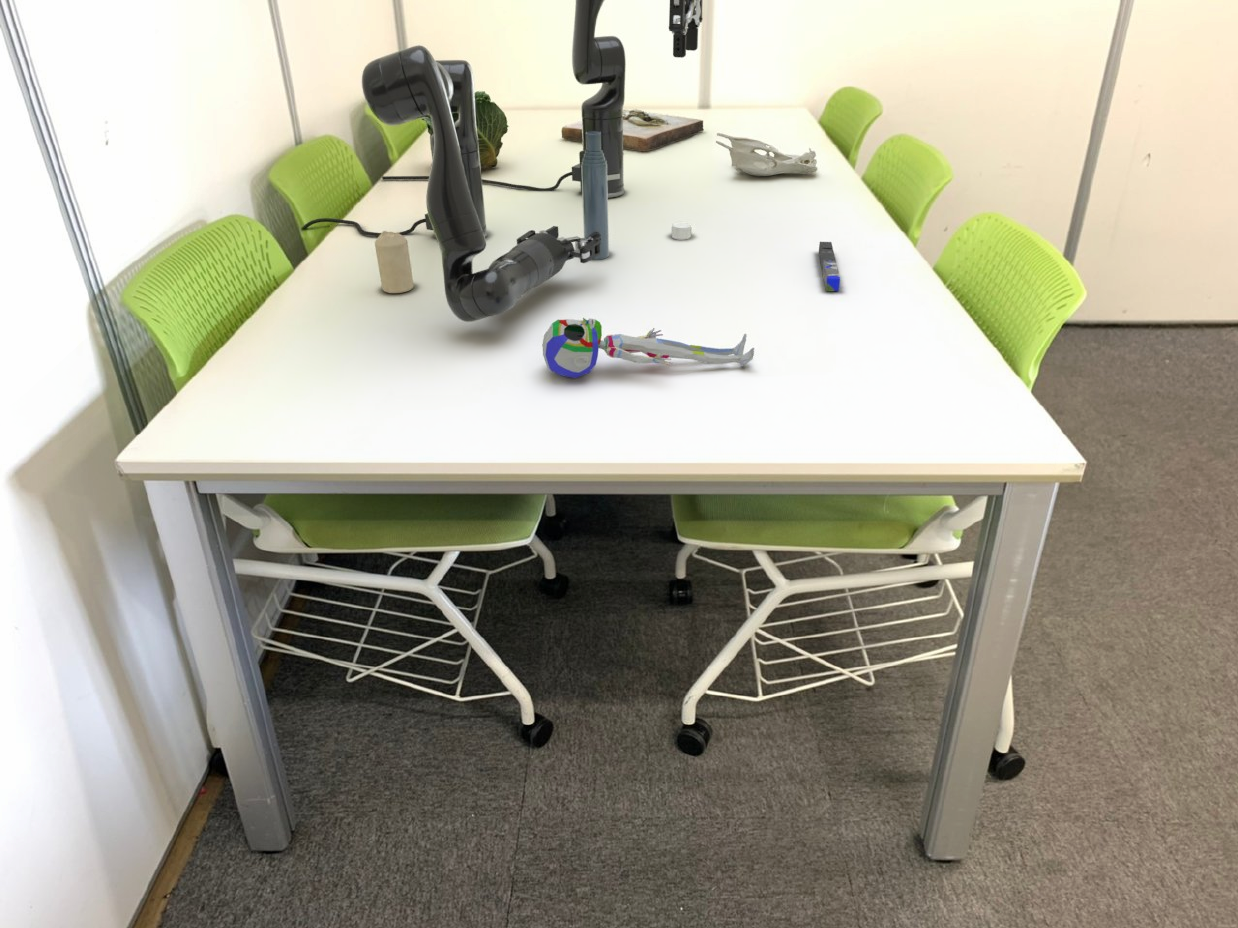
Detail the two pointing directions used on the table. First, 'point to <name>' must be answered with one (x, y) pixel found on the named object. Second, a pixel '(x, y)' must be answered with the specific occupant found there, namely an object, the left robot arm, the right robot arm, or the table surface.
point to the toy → (622, 348)
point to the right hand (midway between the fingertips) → (685, 53)
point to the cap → (681, 230)
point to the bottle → (595, 191)
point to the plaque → (645, 129)
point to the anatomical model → (766, 158)
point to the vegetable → (484, 128)
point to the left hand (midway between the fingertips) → (577, 234)
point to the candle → (394, 262)
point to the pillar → (829, 266)
